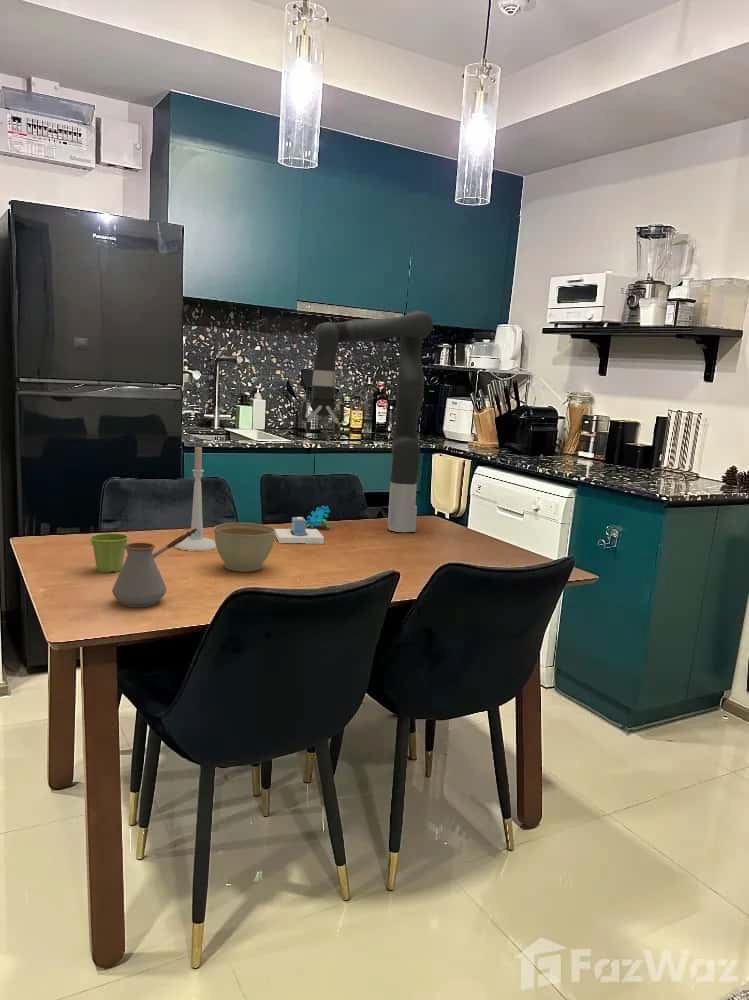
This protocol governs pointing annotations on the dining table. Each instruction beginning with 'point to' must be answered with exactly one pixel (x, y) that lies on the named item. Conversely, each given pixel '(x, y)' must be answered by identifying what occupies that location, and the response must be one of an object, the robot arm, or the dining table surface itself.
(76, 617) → the dining table surface
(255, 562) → the planter bowl
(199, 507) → the candlestick
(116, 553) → the plant pot
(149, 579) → the coffee pot
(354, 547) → the dining table surface
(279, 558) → the dining table surface
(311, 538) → the chassis board
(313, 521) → the blue coral
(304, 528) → the servo
